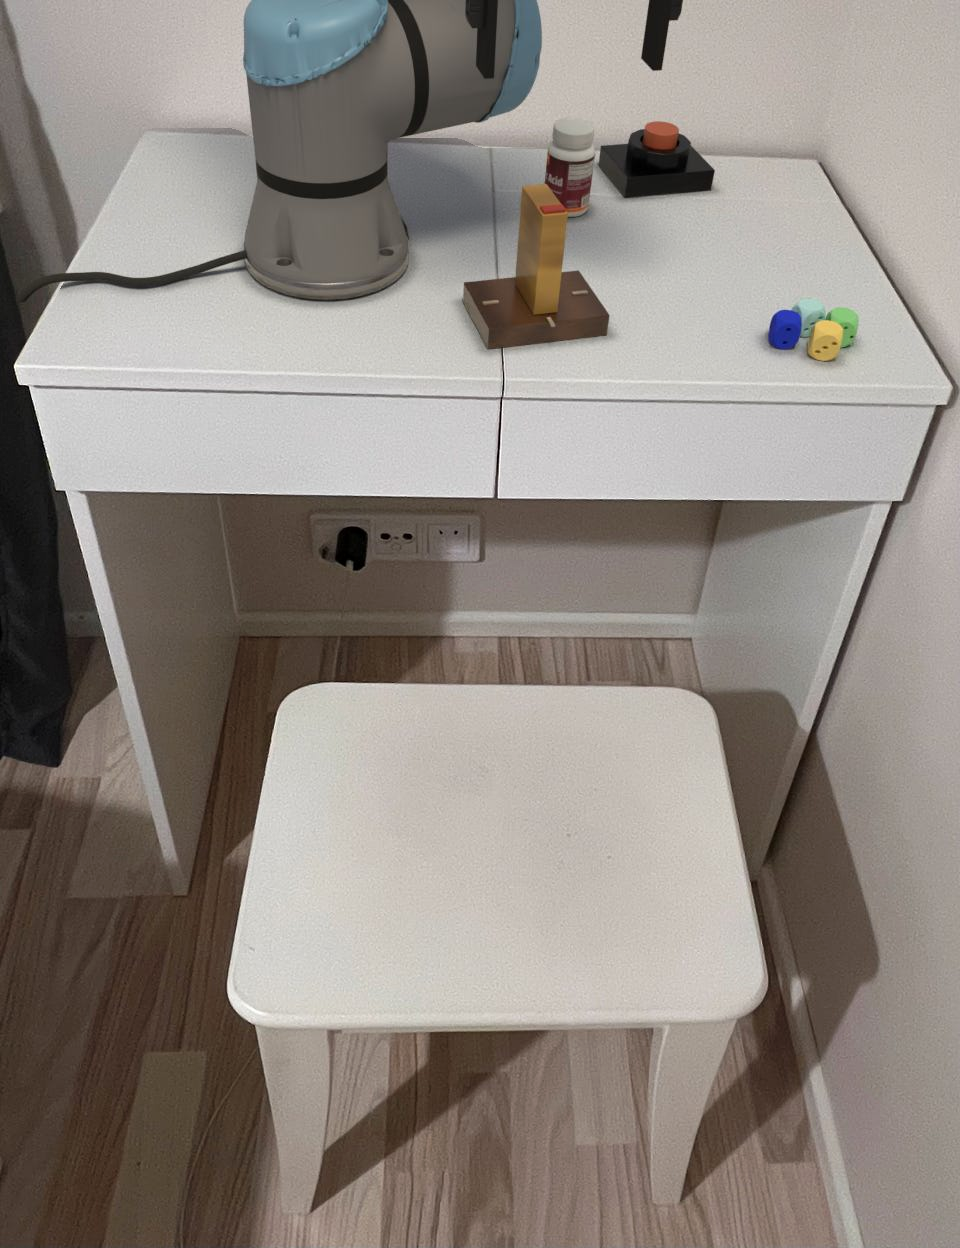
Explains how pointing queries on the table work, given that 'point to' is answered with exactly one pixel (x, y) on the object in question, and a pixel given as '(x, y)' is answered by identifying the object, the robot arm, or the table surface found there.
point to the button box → (655, 168)
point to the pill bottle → (571, 164)
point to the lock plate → (514, 323)
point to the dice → (814, 328)
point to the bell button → (660, 135)
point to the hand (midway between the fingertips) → (569, 68)
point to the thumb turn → (540, 248)
